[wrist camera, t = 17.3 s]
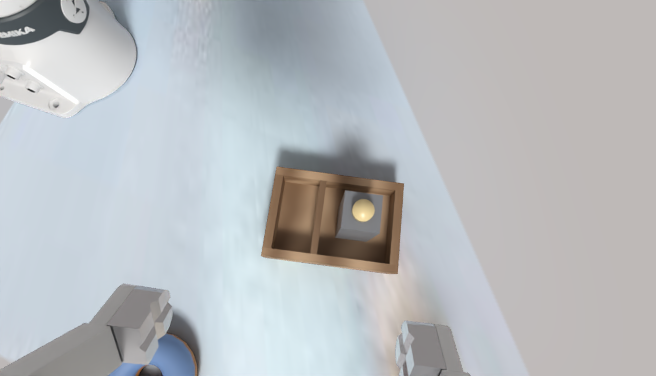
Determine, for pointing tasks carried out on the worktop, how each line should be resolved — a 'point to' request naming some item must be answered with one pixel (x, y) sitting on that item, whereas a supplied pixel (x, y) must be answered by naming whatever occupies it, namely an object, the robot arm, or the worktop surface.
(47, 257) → the worktop surface
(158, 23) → the worktop surface
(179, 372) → the doughnut
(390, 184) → the caddy
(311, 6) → the worktop surface
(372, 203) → the push button
